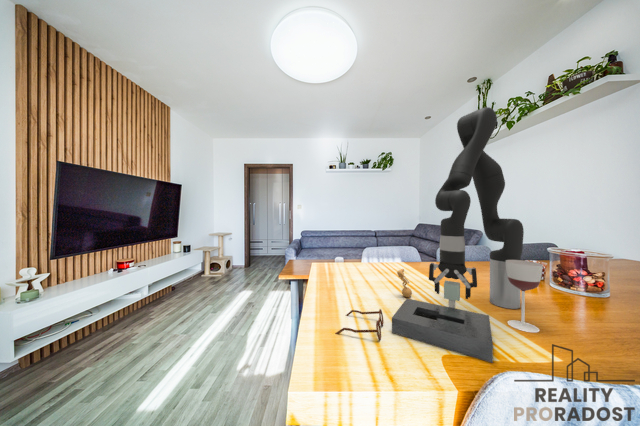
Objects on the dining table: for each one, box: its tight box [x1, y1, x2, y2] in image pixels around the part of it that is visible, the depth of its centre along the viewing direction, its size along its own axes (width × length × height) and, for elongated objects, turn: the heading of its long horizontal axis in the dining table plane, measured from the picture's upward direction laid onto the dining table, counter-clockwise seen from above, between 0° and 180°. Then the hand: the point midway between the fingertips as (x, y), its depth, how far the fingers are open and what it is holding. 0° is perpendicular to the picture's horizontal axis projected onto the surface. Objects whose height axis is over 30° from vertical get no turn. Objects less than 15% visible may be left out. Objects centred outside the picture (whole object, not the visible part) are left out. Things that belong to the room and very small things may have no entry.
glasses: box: [334, 308, 384, 341], centre depth 71 cm, size 13×13×5 cm
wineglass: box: [506, 259, 543, 333], centre depth 71 cm, size 8×9×20 cm
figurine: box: [396, 268, 413, 298], centre depth 95 cm, size 8×6×12 cm
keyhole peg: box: [443, 280, 461, 308], centre depth 78 cm, size 5×5×12 cm
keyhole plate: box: [391, 298, 494, 364], centre depth 68 cm, size 24×18×4 cm
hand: (451, 295), depth 78 cm, fingers open, 8 cm apart
